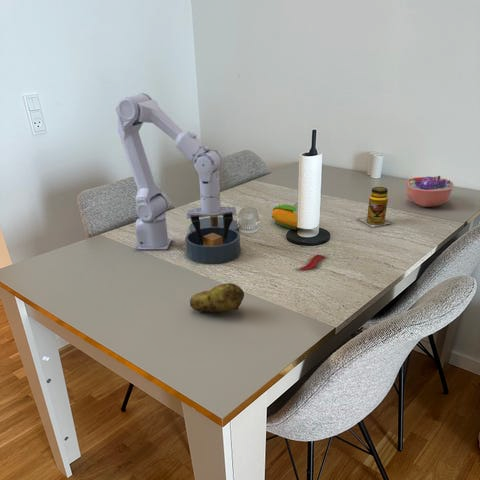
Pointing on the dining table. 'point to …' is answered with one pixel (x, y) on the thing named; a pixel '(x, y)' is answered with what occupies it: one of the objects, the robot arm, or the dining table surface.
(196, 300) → the potato
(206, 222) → the pot lid
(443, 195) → the cell model
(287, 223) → the corn
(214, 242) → the wooden brick
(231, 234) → the pot
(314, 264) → the cayenne pepper
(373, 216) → the condiment
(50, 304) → the dining table surface
